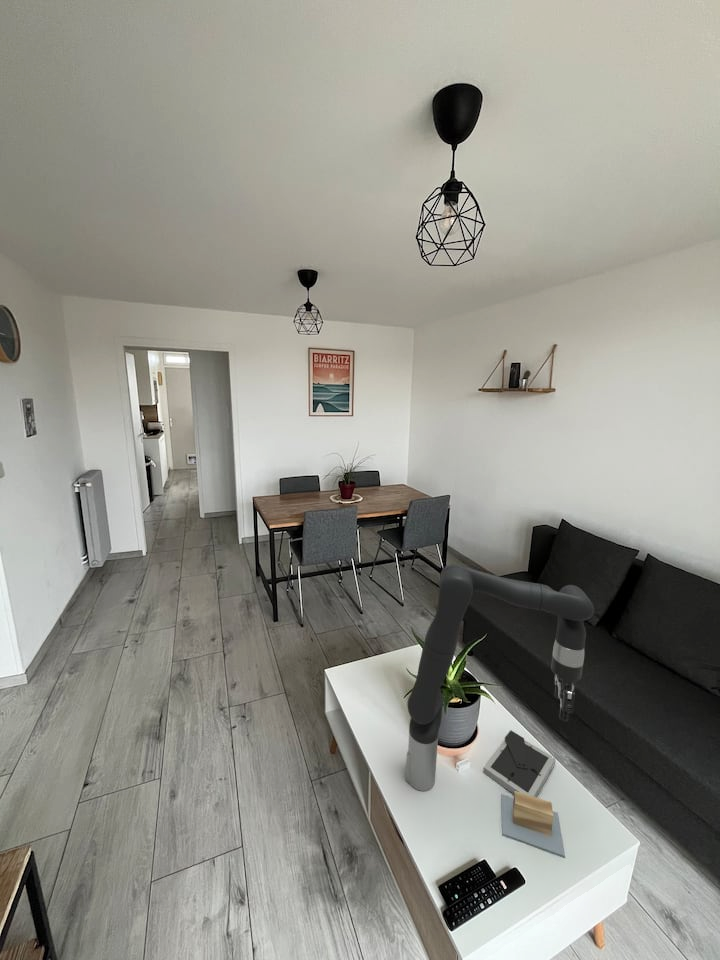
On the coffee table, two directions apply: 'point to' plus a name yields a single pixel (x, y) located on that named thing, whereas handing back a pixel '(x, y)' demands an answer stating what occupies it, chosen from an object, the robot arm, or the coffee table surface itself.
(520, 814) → the oak card box
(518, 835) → the slate mat
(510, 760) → the picture frame
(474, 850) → the coffee table surface
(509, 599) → the robot arm
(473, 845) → the coffee table surface
